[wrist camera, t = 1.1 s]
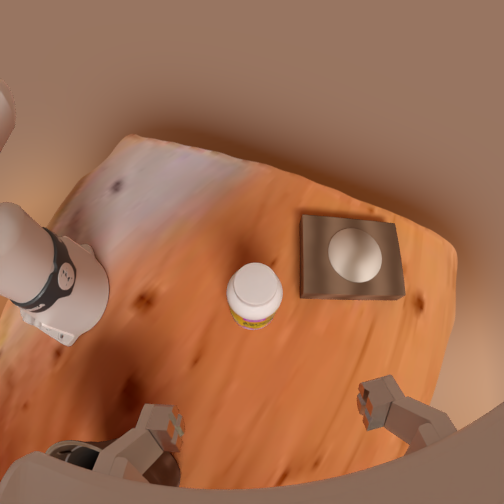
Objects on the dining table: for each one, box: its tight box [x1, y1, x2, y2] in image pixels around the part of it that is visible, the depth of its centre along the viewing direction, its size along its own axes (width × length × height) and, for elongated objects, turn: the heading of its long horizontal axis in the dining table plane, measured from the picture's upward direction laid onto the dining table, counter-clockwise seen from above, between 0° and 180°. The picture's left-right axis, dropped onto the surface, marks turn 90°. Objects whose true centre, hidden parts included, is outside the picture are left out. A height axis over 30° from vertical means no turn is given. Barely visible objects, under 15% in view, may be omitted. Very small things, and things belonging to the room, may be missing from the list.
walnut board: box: [300, 215, 405, 300], centre depth 42 cm, size 17×13×3 cm
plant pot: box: [45, 438, 180, 487], centre depth 22 cm, size 16×16×16 cm
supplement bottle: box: [227, 263, 283, 330], centre depth 35 cm, size 7×7×13 cm
